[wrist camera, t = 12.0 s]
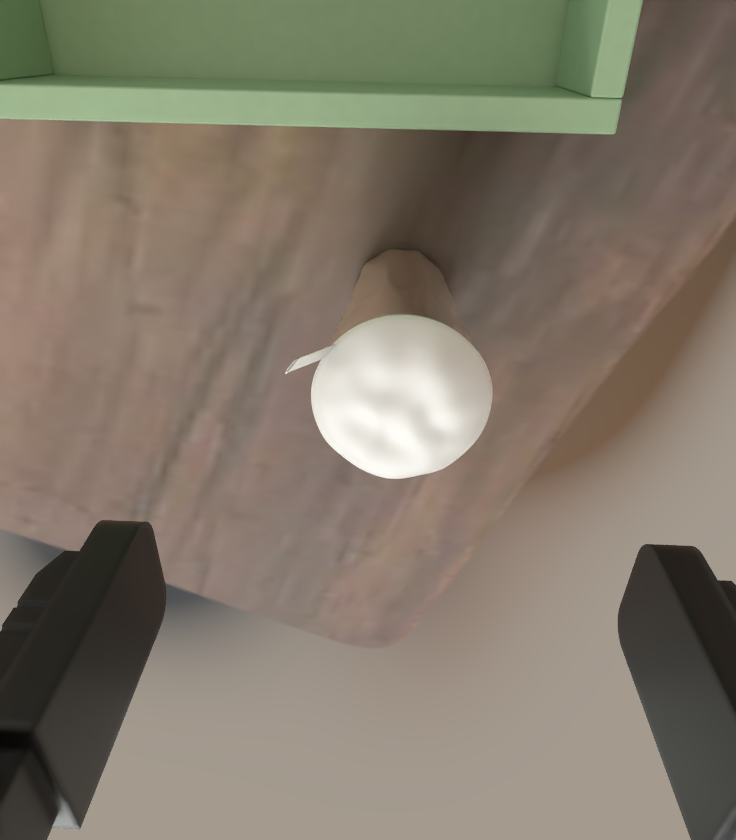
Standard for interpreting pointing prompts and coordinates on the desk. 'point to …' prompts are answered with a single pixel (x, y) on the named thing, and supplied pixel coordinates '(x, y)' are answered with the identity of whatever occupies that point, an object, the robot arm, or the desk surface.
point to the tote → (321, 62)
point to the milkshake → (400, 373)
